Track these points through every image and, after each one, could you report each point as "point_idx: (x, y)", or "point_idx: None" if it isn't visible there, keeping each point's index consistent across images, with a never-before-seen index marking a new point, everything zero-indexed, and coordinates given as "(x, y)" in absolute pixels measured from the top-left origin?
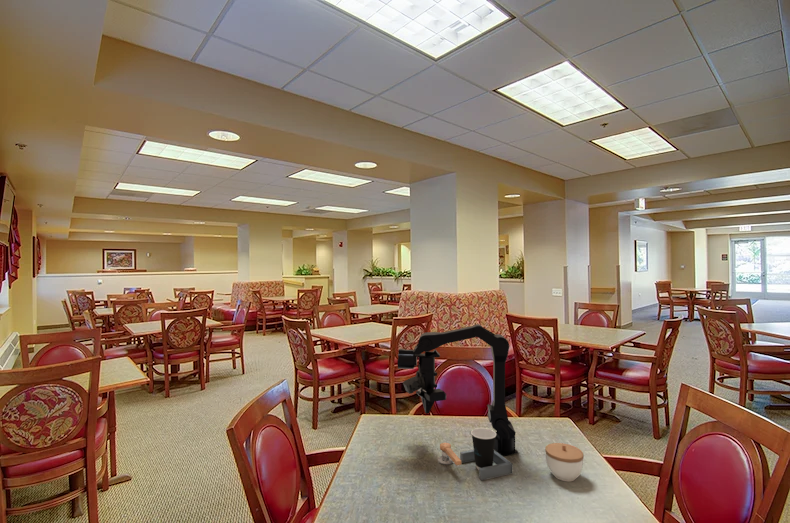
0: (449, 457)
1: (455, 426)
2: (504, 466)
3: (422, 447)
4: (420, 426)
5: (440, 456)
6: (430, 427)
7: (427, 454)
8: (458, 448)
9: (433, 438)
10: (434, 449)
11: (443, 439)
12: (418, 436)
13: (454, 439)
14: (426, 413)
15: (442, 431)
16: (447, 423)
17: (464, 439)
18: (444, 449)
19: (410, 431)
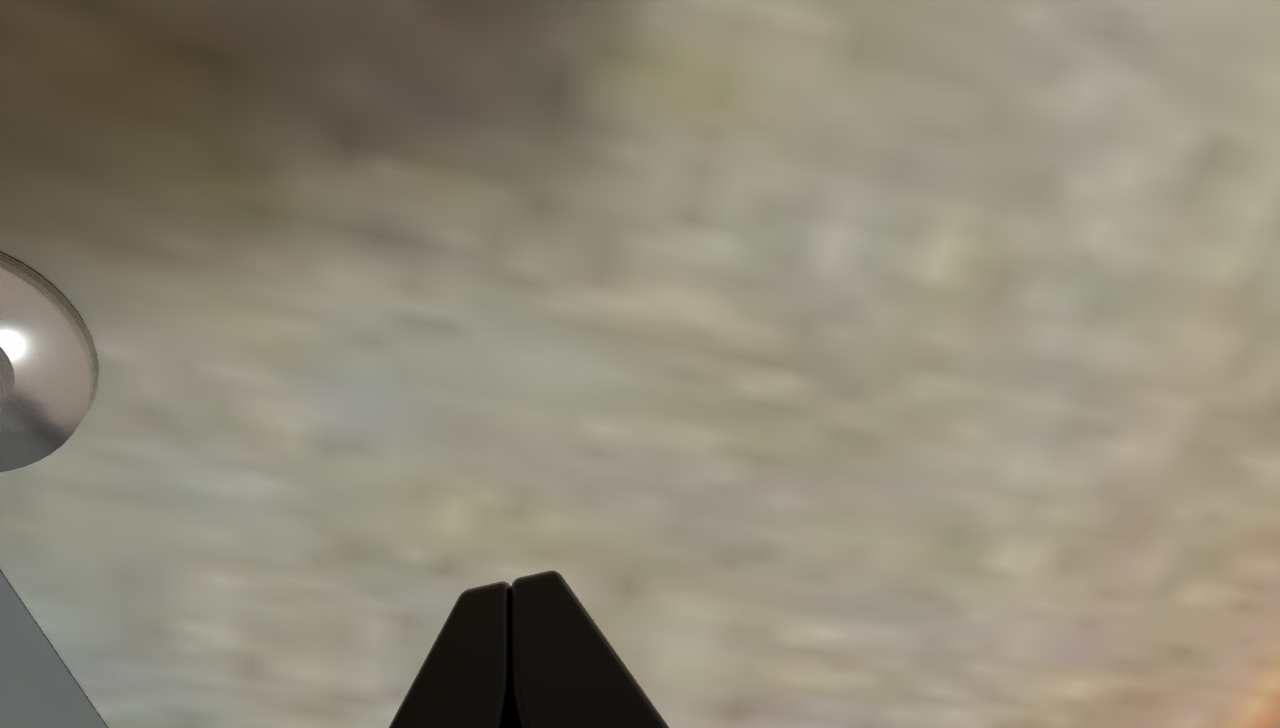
0: (19, 436)
1: (1032, 657)
2: None
3: (503, 86)
4: (1270, 233)
5: (44, 312)
6: (1159, 371)
7: (208, 112)
8: (400, 587)
9: (791, 338)
10: (400, 273)
11: (717, 463)
12: (943, 115)
13: (679, 588)
14: (465, 599)
15: (964, 497)
16: (1156, 592)
17: (649, 686)
18: None
19: (1188, 13)
